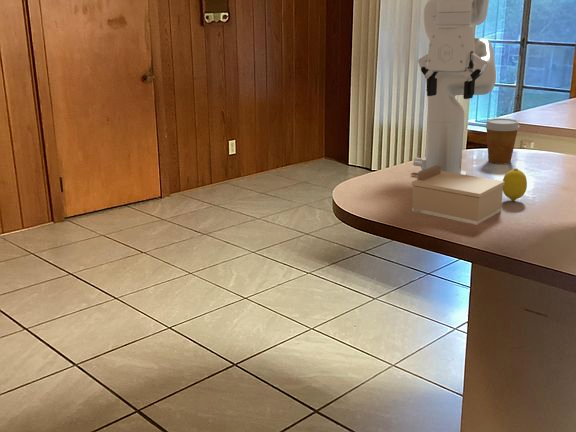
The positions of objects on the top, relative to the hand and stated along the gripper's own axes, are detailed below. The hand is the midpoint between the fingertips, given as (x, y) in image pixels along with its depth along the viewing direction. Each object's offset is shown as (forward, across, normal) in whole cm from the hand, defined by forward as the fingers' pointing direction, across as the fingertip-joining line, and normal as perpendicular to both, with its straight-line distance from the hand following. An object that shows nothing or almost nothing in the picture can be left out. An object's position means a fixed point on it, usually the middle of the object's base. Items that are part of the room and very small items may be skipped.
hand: (449, 97), depth 154 cm
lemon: (+24, +14, +7) cm, 29 cm away
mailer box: (+24, +8, -8) cm, 27 cm away
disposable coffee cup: (+23, -7, +41) cm, 48 cm away
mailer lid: (+18, +8, -8) cm, 22 cm away
